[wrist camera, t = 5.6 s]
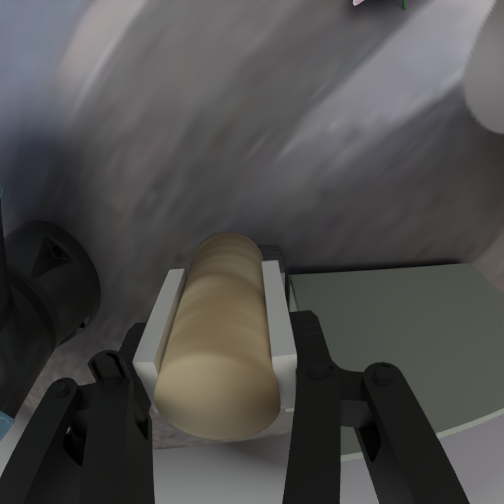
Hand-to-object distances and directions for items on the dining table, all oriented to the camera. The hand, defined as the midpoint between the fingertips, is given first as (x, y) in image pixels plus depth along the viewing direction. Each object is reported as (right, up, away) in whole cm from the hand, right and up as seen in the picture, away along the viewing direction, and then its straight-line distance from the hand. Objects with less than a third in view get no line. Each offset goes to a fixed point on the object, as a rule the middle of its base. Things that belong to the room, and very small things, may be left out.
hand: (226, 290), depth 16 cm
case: (+17, -10, +23) cm, 30 cm away
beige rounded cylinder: (0, +1, +2) cm, 3 cm away
